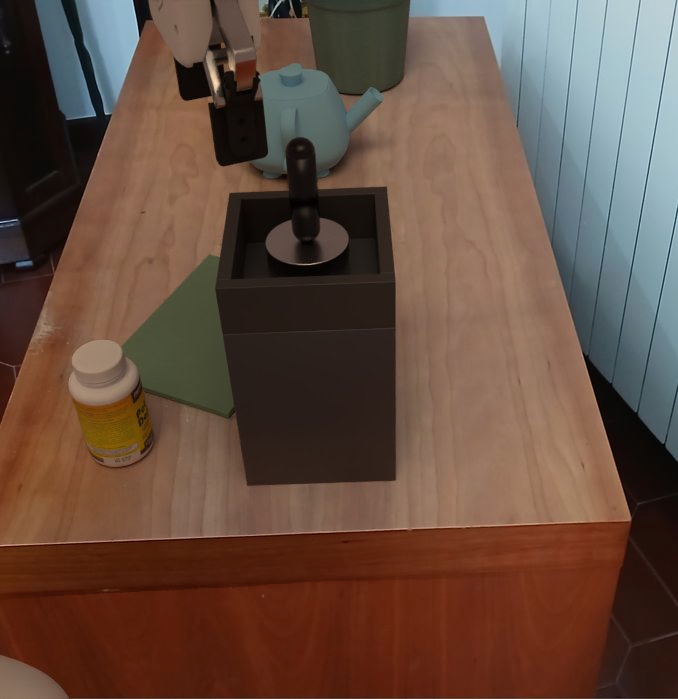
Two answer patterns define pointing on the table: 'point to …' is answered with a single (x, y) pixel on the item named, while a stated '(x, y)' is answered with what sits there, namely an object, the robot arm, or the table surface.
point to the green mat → (186, 346)
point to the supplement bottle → (110, 404)
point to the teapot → (308, 117)
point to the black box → (311, 344)
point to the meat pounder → (306, 225)
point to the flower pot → (360, 42)
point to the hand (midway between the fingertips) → (222, 126)
